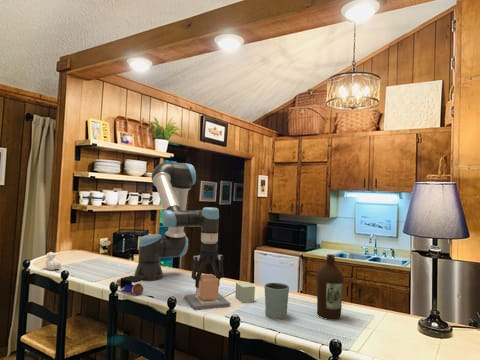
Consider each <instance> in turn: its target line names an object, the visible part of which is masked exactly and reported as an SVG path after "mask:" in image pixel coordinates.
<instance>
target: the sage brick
mask: <svg viewBox="0 0 480 360" xmlns="http://www.w3.org/2000/svg"><path fill="white" fill-rule="evenodd" d="M255 291H256V286H255V285H253V284H252V283H250V282H249V281H241V282H235V294H234V295H235V296H234V297H235V299H237V301H239V302H240V303H241V304H244V303H245V304H246V303H254V302H255V293H256V292H255Z"/></svg>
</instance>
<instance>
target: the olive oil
mask: <svg viewBox="0 0 480 360" xmlns="http://www.w3.org/2000/svg"><path fill="white" fill-rule="evenodd" d="M335 256H336V255H335V254H332V253H328V254H326V263H325V264H324V265H323V266H322V267H321V268H320V269H319V270H318V272H317V274H316V297H317V298H316V299H317V301H316V314H318V315H319V316H321V317H323V318H322V319H324V318H327V319H326V320H328V319H337V320H340V319H341V318H342V306H343V305H342V301H343V290H344V274H343V272H341V270H340V269H339V268H338V267H337V266H336V264H335V263H336V258H335ZM318 315H317V316H318ZM319 316H318V317H319ZM321 317H320V318H321ZM340 317H341V318H340ZM339 318H340V319H339Z"/></svg>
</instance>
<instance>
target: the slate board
mask: <svg viewBox="0 0 480 360" xmlns="http://www.w3.org/2000/svg"><path fill="white" fill-rule="evenodd" d="M184 300H185V301H186V302H187V303H188V306H190V307H191V309H192V310H193V311H200V310H210V309H218V308H229V307H231V302H229V301H228V300H227V299H226V298H225V297H224V296H223V295H221V294H220V293H219V292H218V298H214V299H202V298H201V297H200V296H198V295H197V293H192V294H184Z"/></svg>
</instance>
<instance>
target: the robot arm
mask: <svg viewBox="0 0 480 360" xmlns="http://www.w3.org/2000/svg"><path fill="white" fill-rule="evenodd" d="M152 170H153V171H151V172H152V173H151V182H152V184H153V186H154V187H156V190H157V193H158V195H159V199H160V202H161V205H162V208H163V211H162V213H161V223H162V225H163V226H164V227H165V228H166V227H167V228H168V230H167V231H165V233H164V236H162V234H161V233H160V234H159V233H156V234H155V233H151V234H145V235H143V236H141V237H140V238H139V242H138V243H139V245H138V263H137V266H136V269H135V271H134V273H133V274H134V275H133V276H136V277H140V278H144V279H146V280H144V281H145V282H146V281H147V282H150V281H152V282H153V281H158V280H161V279H162V278H163V273H164V272H163V269H162V267H161V259H163V258H178V257H184V256H185V255H186V253H187V252H188V249H189V238H188V237H187V236H186V232H184V229H185V228H186V227H187V228H189V227H194V228H195V227H197V228H198V227H200V228H201V229H200V230H201V231H200V242H201V243H200V248H199V249H200V252H199V254H198V255H193V258H192V259H193V265H192V271H191V276H190V277H191V279H192V280H194V281H195V282H194V283H195V284H194V285H195V286H194V287H195V289H196V288H197V293H196V294H197V295H198V296H200V291H201V281H200V280H199V279H200V277H201V275H203V271H204V269H205V267H206V265H209V264H210V265H211V266H212V270H213V273H214V276H215V277H216V278H218V279H219V283H220V281H221V279H222V278H224V277H225V273H224V258H225V257H224V255H223V254H218V248H219V246H218V242H219V239H218V238H219V223H220V221H219V219H220V211H219V208H217V207H211V206H210V207H208V206H207V207H205V206H204V207H203V208H202V210H201V209H197V210H187V204H188V203H187V201H188V194H189V191H190V190H191V189H192V186H193V185H195V184H196V181H197V173H196V169H195V166H194V165H192V164H191V163H187V162H186V163H184V162H171V161H170V162H169V161H164V162H161V163H159V164H157V165H156V166H155V168H154V169H152ZM217 259H218V266H217V263H216V261H217ZM200 260H201V262H200V265H199V267H198V264H199V261H200ZM144 281H143V282H144Z"/></svg>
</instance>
